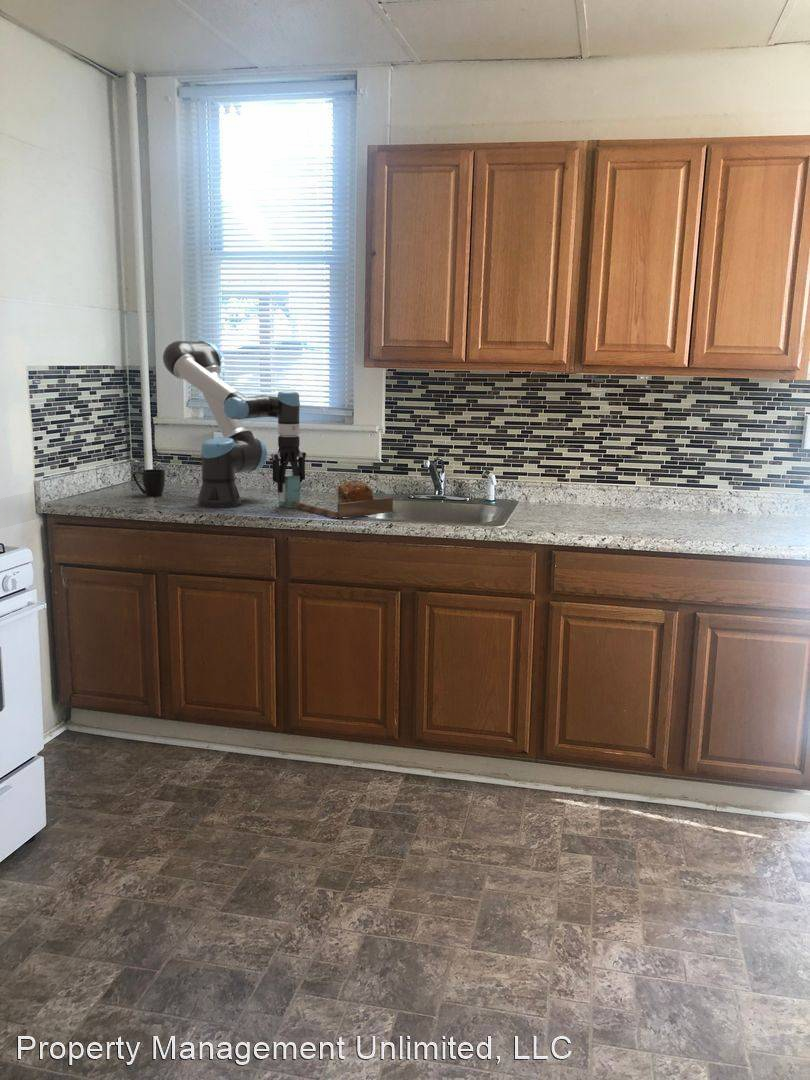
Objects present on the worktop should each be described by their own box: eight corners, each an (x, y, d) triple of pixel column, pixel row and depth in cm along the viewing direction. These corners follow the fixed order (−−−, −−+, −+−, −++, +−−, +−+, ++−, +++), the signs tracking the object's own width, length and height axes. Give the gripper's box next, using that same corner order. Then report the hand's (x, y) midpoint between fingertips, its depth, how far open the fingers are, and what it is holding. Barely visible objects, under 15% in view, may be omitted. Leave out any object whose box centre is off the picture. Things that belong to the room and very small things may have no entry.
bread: (373, 514, 317) (373, 486, 315) (342, 514, 315) (342, 486, 313) (365, 505, 335) (366, 478, 333) (336, 505, 333) (337, 478, 331)
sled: (278, 505, 329) (278, 475, 327) (334, 498, 346) (335, 470, 343) (335, 519, 305) (335, 487, 302) (392, 511, 322) (393, 480, 319)
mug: (138, 493, 350) (137, 468, 348) (168, 494, 349) (168, 469, 347) (130, 496, 342) (129, 471, 340) (161, 497, 341) (160, 472, 339)
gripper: (273, 437, 314) (273, 504, 319) (315, 435, 326) (315, 499, 331) (261, 435, 320) (261, 501, 325) (303, 433, 332) (303, 496, 337)
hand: (289, 500), depth 328 cm, fingers closed on sled, 5 cm apart
